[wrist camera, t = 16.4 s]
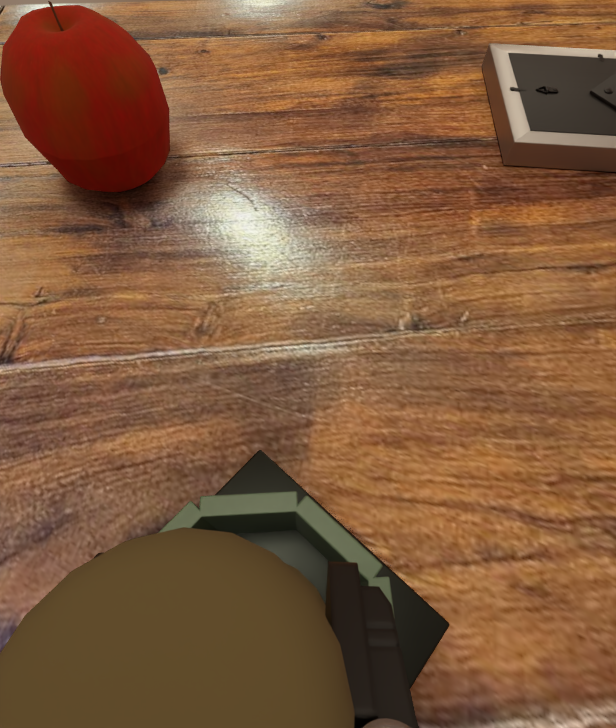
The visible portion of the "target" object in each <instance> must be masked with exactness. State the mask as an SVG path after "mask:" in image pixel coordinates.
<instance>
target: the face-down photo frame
mask: <svg viewBox="0 0 616 728" xmlns="http://www.w3.org/2000/svg"><path fill="white" fill-rule="evenodd" d="M482 70H483V75H484V79H485V83H486V88H487V92H488V97H489V101H490V106H491V110H492V115H493V119H494V124H495V128H496V132H497V137H498V141H499V146H500V150H501V155H502V159H503V164H504V165H511V166H526V167H542V168H558V169H574V170H590V171H605V172H616V50H598V49H580V48H562V47H545V46H527V45H509V44H491V43H490V44H489V46H488V49H487V52H486V55H485V58H484V61H483V64H482Z"/></svg>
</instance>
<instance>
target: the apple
mask: <svg viewBox="0 0 616 728" xmlns="http://www.w3.org/2000/svg"><path fill="white" fill-rule="evenodd" d="M49 4H50V7H46V8H42V9H37V10H33V11H31V12H29V13H27V14H26V15H24V16H22V17H21V18H20V20H19V22H18V24H17V26H16V28H15V29H14V31H13V32H12V34H11V35H10V37H9V38H8V40H7V41H6V43H5V44H4V46H3V52H2V64H1V76H0V80H1V85H2V89H3V94H4V96H5V98H6V100H7V102H8V104H9V106H10V108H11V110H12V112H13V114H14V116H15V118H16V120H17V122H18V124H19V126H20V128H21V130H22V132H23V134H24V136H25V137H26V138H27V139H28V141H29V142H30V143H31V144H32V145H33V146H34V147H35V148H36V149H37V150H38V151H39V152H40V153H41V154H42V155H43V156H44V157H45V158H46V159H47V160H48V161H49V162H50V163H51V164H52V165H53V166H54V167H55V168H56V169H57V170H58V171H59V172H60V173H61V174H62V175H63V177H64V178H65V179H66V180H67V181H68V182H70V183H72V184H74V185H77V186H79V187H81V188H84V189H87V190H95V191H104V192H123V191H127V190H131V189H134V188H136V187H138V186H140V185H143V184H144V183H146V182H147V181H149V180H150V179H151V178H152V177H153V176H154V175H155V174H156V173H157V172H158V171H159V170H160V169H161V167H162V166H163V165H164V164H165V162H166V159H167V156H168V154H169V151H170V133H169V107H168V104H167V101H166V98H165V94H164V92H163V89H162V85H161V82H160V79H159V76H158V73H157V70H156V67H155V65H154V63H153V61H152V60H151V58H150V56H149V54H148V53H147V52H146V51H145V50H144V49H143V48H142V47H141V46H140V45H139V44H138V43H137V42H136V41H135V40H134V39H133V38H132V36H131V35H130V34H129V33H128V32H127V31H126V30H124V29H123V28H122V27H120V26H119V25H117V24H116V23H115V22H113V21H111V20H109V19H108V18H106V17H104V16H102V15H101V14H99V13H97V12H95V11H93V10H91V9H88V8H86V7H83V6H80V5H70V6H54V7H53V5H52V3H51V2H49Z"/></svg>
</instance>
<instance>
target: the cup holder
mask: <svg viewBox="0 0 616 728" xmlns="http://www.w3.org/2000/svg"><path fill="white" fill-rule="evenodd" d="M183 527H185V528H194V529H204V530H213V531H223V532H231V533H233V534H236V535H238V536H240V537H242V538H244V539H246V540H248V541H250V542H252V543H254V544H256V545H258V546H260V547H262V548H264V549H266V550H268V551H271V552H273V553H275V554H276V555H277V556H278V557H279V558H280V559H281V560H282V561H283V562H284V563H286V564H288V565H290V566H292V567H294V568H296V569H298V570H299V571H300V572H301V573H302V574H303V575H304V576H305V577H306V578H307V579H308V580H309V581H310V582H311V583H312V584H313V585H314V586H315V587H316V588H317V590H318V592H319V594H320V596H321V597H322V599H323V601H324V603H325V605H326V588H327V569H328V562H356V563H357V564H358V570H359V577H360V584H361V586H378V587H380V589H381V590H382V591H383V593H384V594H385V596H386V597H387V599H388V600H389V602H390V603H391V605H392V609H393V614H394V619H395V623H396V629H397V632H398V637H399V642H400V647H401V651H402V656H403V660H404V665H405V670H406V674H407V679H408V683H409V688H411V686H412V685H413V683H414V682H415V680H416V678H417V677H418V675H419V674H420V672H421V670H422V669H423V667H424V666H425V664H426V662H427V661H428V659H429V658H430V656H431V654H432V653H433V651H434V650H435V648H436V646H437V645H438V643H439V641H440V640H441V638H442V637H443V635H444V633H445V632H446V630H447V629H448V627H449V623H448V622H447V621H446V620H445V619H444V618H443V617H442V616H441V615H440V614H438V613H437V612H436V611H435V610H434V609H433V608H432V607H431V606H430V605H429V604H428V603H427V602H425V601H424V600H423V599H422V598H421V597H420V596H419V595H418V594H417V593H416V592H415V591H413V590H412V589H411V588H410V587H409V586H408V585H407V584H406V583H405V582H404V581H403V580H402V579H400V578H399V577H398V576H397V575H396V574H395V573H394V572H393V571H392V570H391V569H390V568H388V567H387V566H386V565H385V564H384V563H383V562H382V561H381V560H380V559H379V558H378V557H377V556H375V555H374V554H373V553H372V552H371V551H370V550H369V549H368V548H367V547H366V546H365V545H363V544H362V543H361V542H360V541H359V540H358V539H357V538H356V537H355V536H354V535H353V534H352V533H350V532H349V531H348V530H347V529H346V528H345V527H344V526H343V525H342V524H341V523H340V522H339V521H337V520H336V519H335V518H334V517H333V516H332V515H331V514H330V513H329V512H328V511H327V510H325V509H324V508H323V507H322V506H321V505H320V504H319V503H318V502H317V501H316V500H315V499H314V498H312V497H311V496H310V495H309V494H308V493H307V492H306V491H305V490H304V489H303V488H302V487H300V486H299V485H298V484H297V483H296V482H295V481H294V480H293V479H292V478H291V477H290V476H289V475H287V474H286V473H285V472H284V471H283V470H282V469H281V468H280V467H279V466H278V465H277V464H275V463H274V462H273V461H272V460H271V459H270V458H269V457H268V456H267V455H266V454H265V453H264V452H262V451H261V450H259V451H258V452H257V453H256V454H255V455H254V456H253V457H252V458H251V459H250V460H249V461H248V462H247V463H246V464H245V465H244V466H243V467H242V468H241V469H240V470H239V471H238V472H237V473H236V474H235V475H234V476H233V477H232V478H231V479H230V480H229V481H228V482H227V483H226V484H225V485H224V486H223V487H222V488H221V490H220V491H219V492H218V493H217V494H216V495H215V496H201V497H200V508H198V507H197V506H196V505H195V504H194V503H193V502H191V501H190V502H189V503H188V504H187V505H186V506H185V507H184V508H183V509H182V510H181V511H180V512H179V513H178V514H177V515H176V516H175V517H174V518H173V519H172V520H171V521H170V522H169V523H168V524H167V525H166V526H165V527H164V528H163V529H162V530H161V531H160V532H165V531H169V530H174V529H178V528H183ZM160 532H159V533H160Z"/></svg>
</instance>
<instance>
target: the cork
mask: <svg viewBox="0 0 616 728" xmlns="http://www.w3.org/2000/svg"><path fill="white" fill-rule="evenodd" d="M325 606H326V605H325V603H324V601H323V599H322V597H321V596H320V594H319V592H318V590H317V588H316V587H315V586H314V585H313V584H312V583H311V582H310V581H309V580H308V579H307V578H306V577H305V576H304V575H303V574H302V573H301V572H300V571H299V570H298V569H296V568H294V567H292V566H290V565H288V564H286V563H284V562H283V561H282V560H281V559H280V558H279V557H278V556H277V555H276V554H275V553H273V552H271V551H268V550H266V549H264V548H262V547H260V546H258V545H256V544H254V543H252V542H250V541H248V540H246V539H244V538H242V537H240V536H238V535H236V534H233V533H231V532H223V531H213V530H204V529H194V528H185V527H183V528H178V529H174V530H169V531H165V532H160V533H156V534H151V535H147V536H143V537H138V538H134V539H131V540H128V541H125V542H123V543H121V544H119V545H117V546H116V547H114V548H112V549H110V550H108V551H107V552H105V553H103V554H101V555H100V556H98V557H96V558H94V559H92V560H91V561H89V562H87V563H85V564H83V565H82V566H80V567H78V568H76V569H74V570H73V571H72V572H70V573H69V574H68V575H67V576H66V577H65V578H64V579H63V580H62V581H61V582H60V583H59V584H58V585H57V586H56V587H55V588H54V589H53V590H52V591H51V592H49V593H48V594H47V595H46V596H45V597H44V598H43V599H42V600H41V601H40V602H39V603H38V604H37V605H36V606H35V607H34V608H33V609H32V610H31V611H30V612H28V613H27V614H26V615H25V617H24V618H23V620H22V621H21V623H20V624H19V626H18V627H17V629H16V630H15V632H14V633H13V635H12V636H11V638H10V639H9V641H8V642H7V644H6V645H5V647H4V648H3V650H2V651H1V653H0V728H354V721H355V711H354V706H353V702H352V697H351V692H350V688H349V683H348V678H347V674H346V669H345V664H344V660H343V655H342V651H341V646H340V643H339V641H338V639H337V637H336V635H335V634H334V632H333V630H332V628H331V626H330V624H329V622H328V620H327V618H326V616H325Z"/></svg>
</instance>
